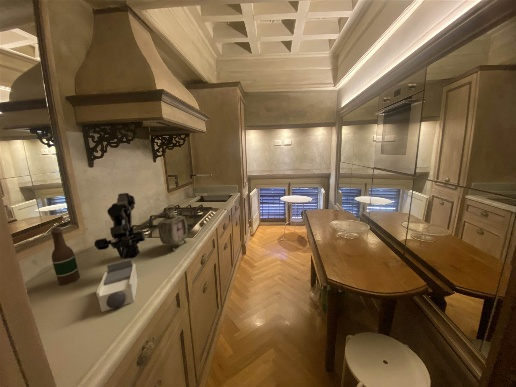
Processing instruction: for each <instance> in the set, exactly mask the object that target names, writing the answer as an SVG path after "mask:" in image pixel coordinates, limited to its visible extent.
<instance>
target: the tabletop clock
mask: <svg viewBox="0 0 516 387" xmlns="http://www.w3.org/2000/svg"><path fill="white" fill-rule="evenodd" d="M169 207H173V209H170V210H169V211H168V209H169ZM165 209H166V210H165V212H166V213H168V214H167V215H166V217H165V218H164V219H161V220H160V221H159V222H158V226H157V229H158V237H159V240H160V241H161V243H162V244H164V245H171V247H172V250H171V251H172V252H175V251H176V248H175V245H179V244H180V243H182V242H183V243H184V244H186V243H187V242H188V241H187V240H186V239H187V238H188V236H189V227H188V221H187V217H186V216H185V215H177V214H176V213H175V212H174V211H175V209H176V207H175V205H174V204H169V205H168V206H167V207H166V208H165Z"/></svg>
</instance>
